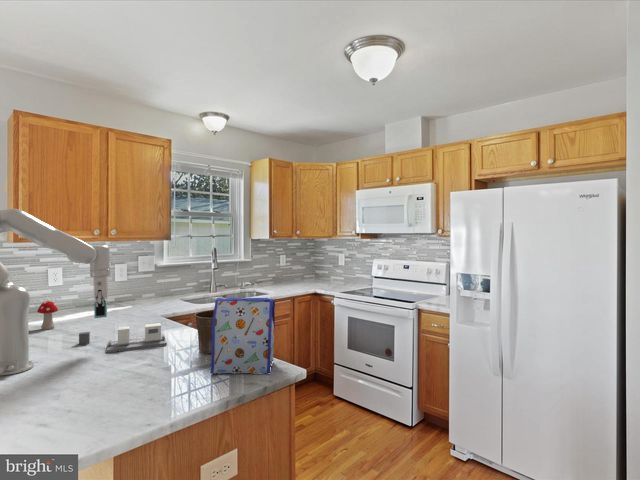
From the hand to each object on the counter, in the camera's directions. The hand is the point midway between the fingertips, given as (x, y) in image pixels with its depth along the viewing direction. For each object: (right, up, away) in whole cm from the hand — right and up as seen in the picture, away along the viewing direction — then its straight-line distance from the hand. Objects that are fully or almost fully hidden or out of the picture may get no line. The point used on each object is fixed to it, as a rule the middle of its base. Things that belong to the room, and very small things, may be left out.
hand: (100, 313), depth 162 cm
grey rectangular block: (-13, -16, +9) cm, 22 cm away
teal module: (0, -1, 0) cm, 1 cm away
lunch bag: (+69, -16, -24) cm, 74 cm away
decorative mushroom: (-51, -16, +37) cm, 65 cm away
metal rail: (+13, -14, +6) cm, 21 cm away
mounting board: (+13, -16, +6) cm, 21 cm away
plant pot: (+50, -16, -1) cm, 53 cm away
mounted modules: (+14, -14, +7) cm, 21 cm away
